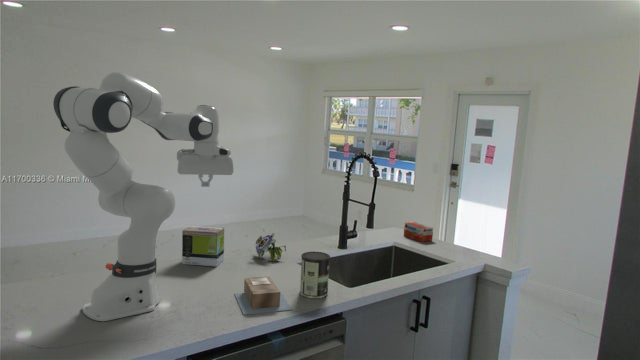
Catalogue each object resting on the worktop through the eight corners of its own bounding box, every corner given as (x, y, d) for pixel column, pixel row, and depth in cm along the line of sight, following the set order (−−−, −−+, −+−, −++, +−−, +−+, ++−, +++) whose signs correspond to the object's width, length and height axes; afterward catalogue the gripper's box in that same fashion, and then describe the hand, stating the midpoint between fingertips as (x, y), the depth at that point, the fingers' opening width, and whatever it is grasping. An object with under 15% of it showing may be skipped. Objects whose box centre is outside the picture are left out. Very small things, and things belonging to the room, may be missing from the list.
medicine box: (432, 241, 243) (433, 227, 242) (421, 242, 238) (423, 228, 237) (413, 234, 255) (414, 221, 254) (402, 236, 251) (403, 222, 250)
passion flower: (258, 270, 196) (248, 243, 200) (282, 262, 202) (272, 236, 206) (266, 262, 186) (255, 234, 190) (291, 254, 192) (280, 226, 196)
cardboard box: (244, 291, 154) (252, 309, 141) (244, 277, 154) (253, 293, 140) (268, 289, 158) (279, 306, 144) (269, 275, 157) (280, 291, 143)
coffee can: (325, 287, 164) (327, 251, 162) (330, 298, 154) (332, 259, 152) (297, 287, 162) (299, 251, 160) (301, 298, 152) (303, 259, 150)
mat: (234, 294, 152) (234, 293, 152) (278, 290, 158) (278, 289, 158) (243, 315, 137) (243, 314, 137) (292, 310, 142) (292, 309, 142)
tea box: (224, 260, 189) (225, 227, 187) (216, 267, 179) (217, 232, 177) (190, 257, 190) (191, 224, 188) (181, 264, 180) (181, 229, 179)
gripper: (177, 149, 156) (176, 187, 157) (234, 151, 163) (233, 187, 164) (176, 148, 161) (175, 185, 163) (232, 150, 169) (231, 185, 170)
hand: (205, 186), depth 164 cm, fingers closed
